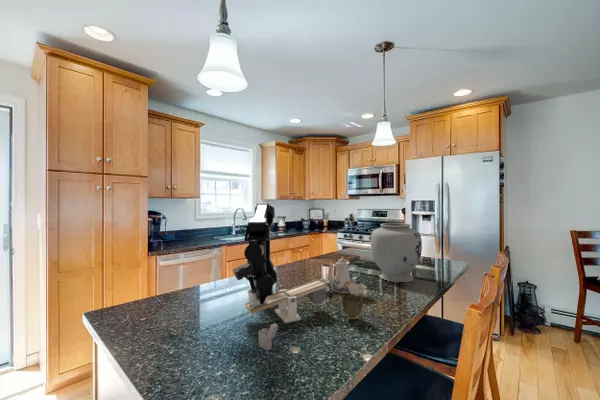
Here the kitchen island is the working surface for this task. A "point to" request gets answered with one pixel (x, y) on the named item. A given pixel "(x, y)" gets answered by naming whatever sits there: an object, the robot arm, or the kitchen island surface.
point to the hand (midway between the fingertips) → (257, 299)
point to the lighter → (267, 336)
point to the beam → (311, 288)
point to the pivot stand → (288, 309)
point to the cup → (352, 305)
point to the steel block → (255, 298)
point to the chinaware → (343, 279)
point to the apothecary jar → (396, 250)
